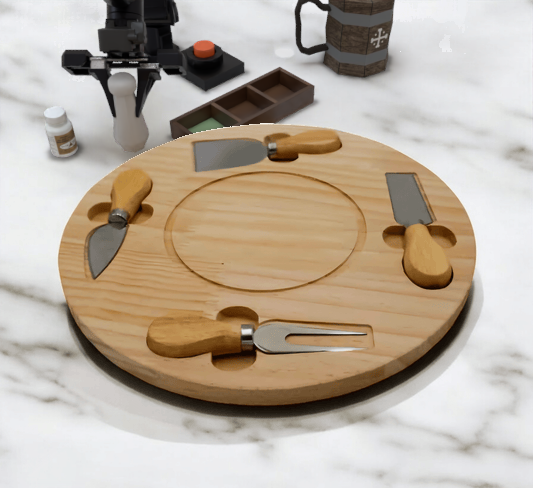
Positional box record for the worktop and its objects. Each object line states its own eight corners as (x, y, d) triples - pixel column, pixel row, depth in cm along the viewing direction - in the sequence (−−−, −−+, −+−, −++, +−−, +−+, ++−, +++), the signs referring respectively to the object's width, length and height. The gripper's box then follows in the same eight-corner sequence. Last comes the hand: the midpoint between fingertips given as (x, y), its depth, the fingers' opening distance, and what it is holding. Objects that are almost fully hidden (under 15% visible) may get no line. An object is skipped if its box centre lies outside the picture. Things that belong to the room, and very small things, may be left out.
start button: (189, 53, 126) (189, 44, 125) (205, 46, 128) (205, 38, 127) (202, 60, 124) (202, 52, 123) (219, 53, 126) (218, 45, 125)
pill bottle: (65, 161, 108) (54, 122, 103) (46, 152, 110) (34, 114, 105) (83, 147, 111) (74, 109, 106) (64, 139, 113) (54, 101, 107)
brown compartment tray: (171, 137, 113) (169, 120, 111) (279, 82, 126) (279, 66, 123) (204, 161, 108) (203, 144, 106) (313, 102, 121) (314, 85, 118)
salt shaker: (144, 158, 106) (132, 89, 97) (110, 154, 107) (95, 85, 98) (155, 137, 110) (144, 68, 101) (123, 133, 111) (109, 65, 102)
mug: (379, 41, 137) (388, -31, 126) (397, 75, 127) (409, 0, 117) (287, 48, 135) (288, -24, 124) (298, 82, 125) (301, 8, 115)
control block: (167, 67, 130) (164, 49, 127) (206, 50, 134) (204, 32, 132) (205, 91, 123) (203, 72, 121) (244, 72, 128) (244, 54, 125)
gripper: (49, 0, 95) (50, 107, 95) (177, -1, 95) (178, 107, 95) (71, 24, 106) (72, 120, 106) (186, 24, 106) (187, 120, 106)
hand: (125, 117), depth 103 cm, fingers closed on salt shaker, 3 cm apart
